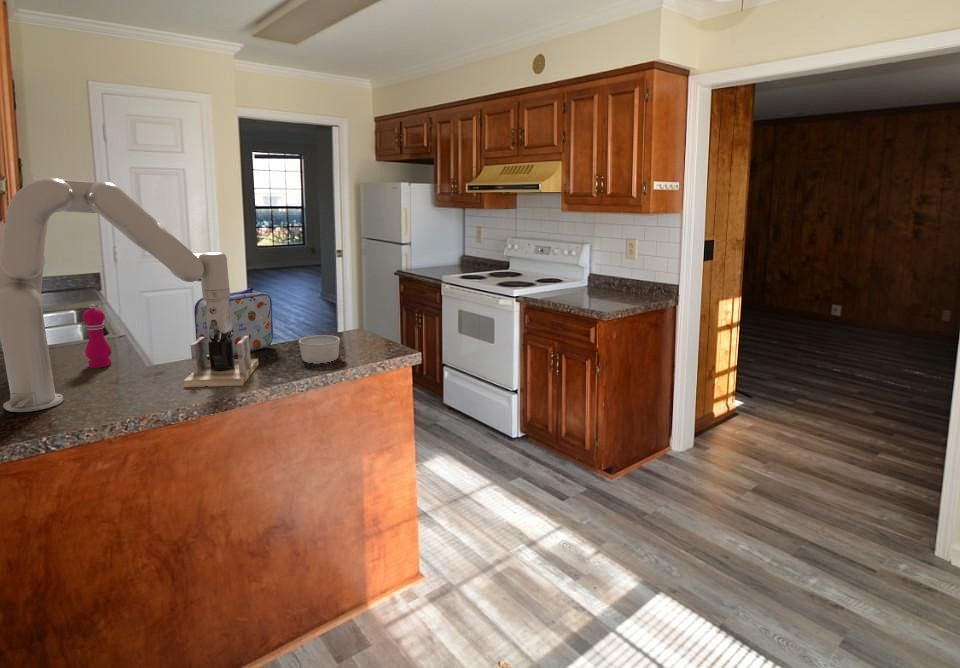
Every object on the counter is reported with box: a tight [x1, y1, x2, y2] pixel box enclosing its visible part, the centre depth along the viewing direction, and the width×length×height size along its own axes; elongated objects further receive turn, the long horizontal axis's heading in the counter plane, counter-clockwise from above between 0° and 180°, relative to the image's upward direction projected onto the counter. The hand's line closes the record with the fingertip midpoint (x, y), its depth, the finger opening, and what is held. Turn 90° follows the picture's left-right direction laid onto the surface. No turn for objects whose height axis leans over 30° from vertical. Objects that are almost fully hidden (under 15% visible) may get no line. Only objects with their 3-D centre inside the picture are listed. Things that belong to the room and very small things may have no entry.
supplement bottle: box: [208, 331, 235, 371], centre depth 192 cm, size 7×7×12 cm
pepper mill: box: [82, 303, 113, 369], centre depth 202 cm, size 7×7×20 cm
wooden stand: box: [183, 336, 260, 388], centre depth 193 cm, size 22×16×11 cm
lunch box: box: [193, 287, 274, 357], centre depth 218 cm, size 28×10×22 cm, turn 149°
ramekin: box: [298, 334, 341, 365], centre depth 211 cm, size 13×13×7 cm
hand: (221, 350), depth 192 cm, fingers open, 9 cm apart
